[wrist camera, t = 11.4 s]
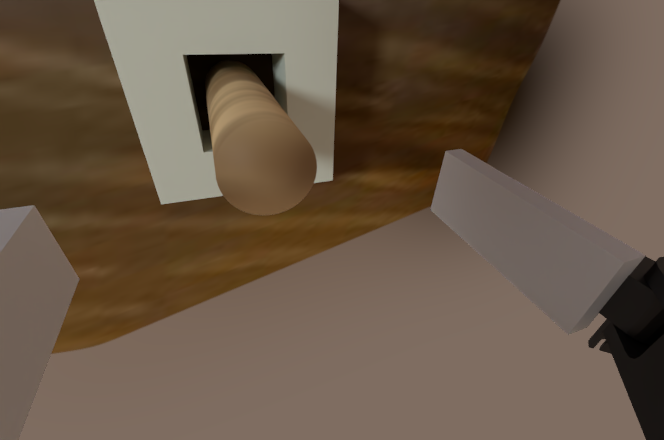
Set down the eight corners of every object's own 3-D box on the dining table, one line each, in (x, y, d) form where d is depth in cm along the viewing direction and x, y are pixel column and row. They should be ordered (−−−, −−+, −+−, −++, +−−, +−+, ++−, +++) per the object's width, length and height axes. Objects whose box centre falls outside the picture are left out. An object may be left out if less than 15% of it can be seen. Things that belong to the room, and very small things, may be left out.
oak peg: (199, 60, 24) (205, 127, 12) (257, 59, 25) (317, 118, 13) (210, 117, 27) (225, 222, 14) (262, 114, 28) (316, 207, 16)
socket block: (106, -23, 20) (85, -27, 16) (316, -13, 24) (339, -14, 20) (165, 175, 28) (161, 204, 24) (316, 158, 32) (332, 180, 28)
